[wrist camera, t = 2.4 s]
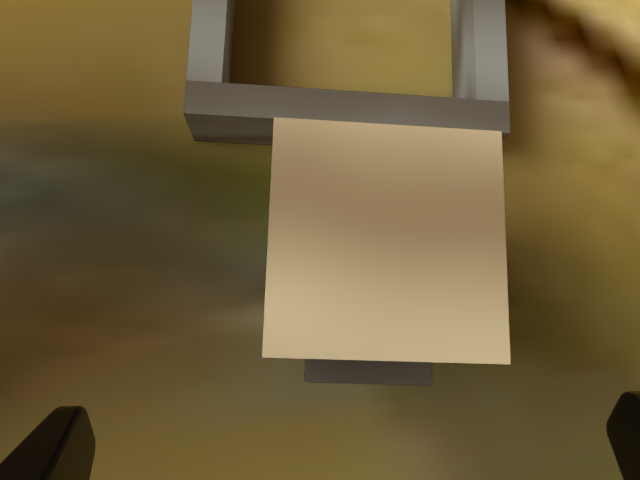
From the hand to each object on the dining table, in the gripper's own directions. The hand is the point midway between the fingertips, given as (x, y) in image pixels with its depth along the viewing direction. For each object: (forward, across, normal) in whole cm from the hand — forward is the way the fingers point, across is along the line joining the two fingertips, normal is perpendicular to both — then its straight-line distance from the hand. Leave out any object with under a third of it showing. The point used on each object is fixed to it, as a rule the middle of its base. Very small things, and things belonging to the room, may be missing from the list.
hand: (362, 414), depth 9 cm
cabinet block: (+10, -1, +5) cm, 11 cm away
